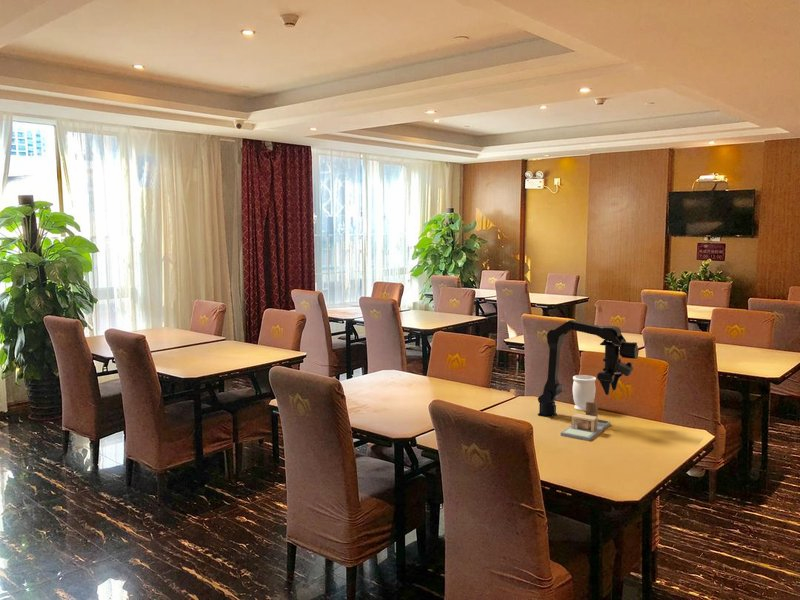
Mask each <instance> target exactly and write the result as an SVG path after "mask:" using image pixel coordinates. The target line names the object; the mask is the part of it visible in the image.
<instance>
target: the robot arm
mask: <svg viewBox="0 0 800 600" xmlns="http://www.w3.org/2000/svg"><path fill="white" fill-rule="evenodd" d="M571 331H575V332H580V333H585V334H588V335H589V334H590V335H594V336H597V337H598V338H601V339H602V342H601V343H599V346H604V358H603V359H602V361H603V362H604V367H603V368H602V370H601V371H600V372H598V373H597V374H596V380H598V381H599V383H600V385H601V388H602V389H603V391H604V394H605V395H606V396H608V395H609V394H610V389H611V388H612V389H611V390H612V391H616V390H617V386H618V384H619V380H620V378H621V377H622V376H625V377H629V376H631V374H632V372H633V371H634V366H633V363H632V362H631V361H629V362H627V363H625V362H622V359H621V358H624V359H633V360H637V359H638V358H639V352H640V351H639V346H638V342H634V341H633V342H628V341H627V340H626V339H625V337H624V336H623V334H622V331H621V329H620V328H619V326H615V325H597V324H596V325H595V324H592V323H588V322H587V323H586V322H582V321H577V320H575V319H570V320H567V321H565V323H563V324H561V325H559V326H558V327H555V328H553V329H550V330H548V331H547V334H546V341H547V342H546V343H547V345H548V348H549V353H548V365H547V366H548V367H547V379H546V382H545V384H544V387H543V391H542V393H541V395H540V396H538V397H537V401H538V404H539V408H538V409H539V413H537V416H541V417H547V418H553V417H554V416H556V415H557V405H556V400H557V398H558V397H559V396H560V395H561V393H562V392H563V391H562V387H563V383H560V382H559V369H560V356H561V355H560V354H561V353H560V352H561V347H562V345H563V343H564V340H565V336H566V335H567V334H568V333H570V332H571ZM620 357H621V358H620Z"/></svg>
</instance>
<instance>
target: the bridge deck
mask: <svg viewBox="0 0 800 600" xmlns="http://www.w3.org/2000/svg"><path fill="white" fill-rule="evenodd" d="M578 419H581V420H587V421H591V428H590V429H589V430H585V429H580V428H577V426H578ZM610 425H611V421H609V420H605V419H599V416H598V417H596V416H590V415H586V414H583V413H578V412H576V413H574V414H572V415H571V425H570V426H568V427H566V428H565V429H563V430H562V431H561V432H560V436H561V437H565V438H566V437H567V438H571V439H577V440H582V441H587V442H590V441H592V440H593V439H594V438H595V437H597V436H598V435H599V434H600V433H601V432H603V431H604V430H605V429H607V428H608V427H609V426H610Z"/></svg>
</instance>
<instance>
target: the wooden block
mask: <svg viewBox="0 0 800 600" xmlns="http://www.w3.org/2000/svg"><path fill="white" fill-rule="evenodd" d="M598 414H599V403H596V402H593V403H591V402H586V411H585V415H590V416H596V417H598V418H599V416H598ZM577 428H580V429H585V430H589V429H590V428H591V421H587V420H581V419H578V426H577Z"/></svg>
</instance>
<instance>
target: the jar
mask: <svg viewBox="0 0 800 600" xmlns="http://www.w3.org/2000/svg"><path fill="white" fill-rule="evenodd" d="M572 380H573V382H572V383H573V384H572V396H573V402H574V404H575V405H574V408H573V409H575V410H577V411H581V412H586V402H591V403H595V398H596V392H597V389H596V387H597V386H596V381H597V377H596V376H593V375H587V374H576V375H574V376H572Z"/></svg>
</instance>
